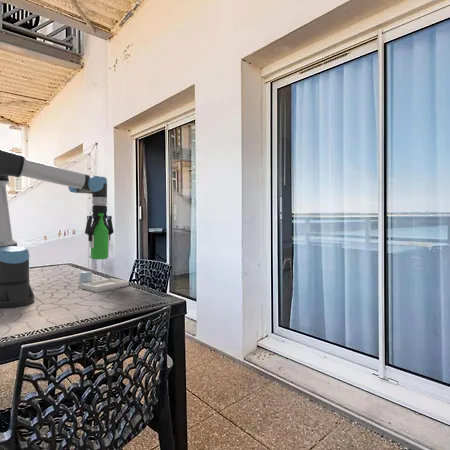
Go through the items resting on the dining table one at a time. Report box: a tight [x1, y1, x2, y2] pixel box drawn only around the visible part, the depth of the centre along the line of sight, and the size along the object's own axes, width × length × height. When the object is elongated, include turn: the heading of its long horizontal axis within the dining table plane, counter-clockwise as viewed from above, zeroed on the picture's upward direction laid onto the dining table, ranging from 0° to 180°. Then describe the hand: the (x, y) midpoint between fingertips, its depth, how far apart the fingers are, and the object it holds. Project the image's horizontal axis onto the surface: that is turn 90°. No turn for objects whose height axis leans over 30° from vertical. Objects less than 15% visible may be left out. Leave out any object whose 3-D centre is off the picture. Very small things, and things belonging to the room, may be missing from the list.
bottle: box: [90, 213, 109, 260], centre depth 176 cm, size 9×9×25 cm
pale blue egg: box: [78, 271, 93, 287], centre depth 171 cm, size 6×6×7 cm
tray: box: [79, 278, 130, 293], centre depth 166 cm, size 18×15×2 cm
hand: (99, 246), depth 176 cm, fingers closed on bottle, 9 cm apart
